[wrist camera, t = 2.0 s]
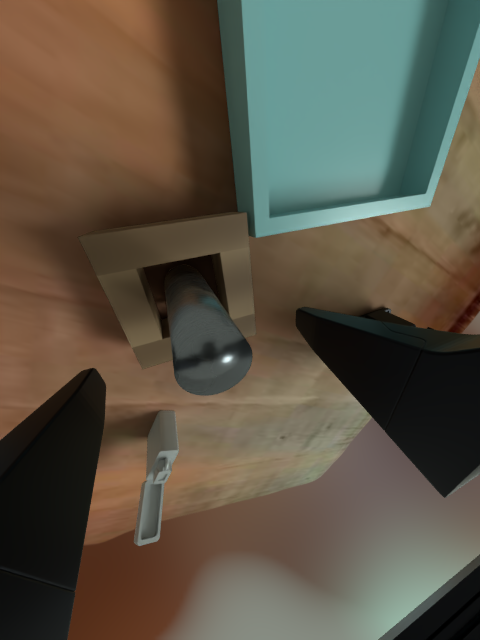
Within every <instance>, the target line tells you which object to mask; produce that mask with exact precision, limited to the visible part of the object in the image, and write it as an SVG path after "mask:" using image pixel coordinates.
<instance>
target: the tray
mask: <svg viewBox="0 0 480 640" xmlns="http://www.w3.org/2000/svg"><path fill="white" fill-rule="evenodd" d="M217 5H218V15H219V25H220V35H221V45H222V56H223V66H224V76H225V86H226V96H227V106H228V117H229V127H230V137H231V147H232V157H233V167H234V178H235V188H236V198H237V208H238V212H245V213H247V223H248V235H249V236H252V237H255V238H257V237H262V236H268V235H273V234H279V233H285V232H290V231H296V230H301V229H307V228H312V227H318V226H324V225H329V224H335V223H340V222H346V221H351V220H357V219H363V218H368V217H374V216H379V215H385V214H390V213H396V212H401V211H407V210H413V209H418V208H424V207H429V206H430V205H431V202H432V199H433V196H434V193H435V190H436V187H437V184H438V181H439V178H440V175H441V172H442V169H443V166H444V163H445V160H446V157H447V154H448V151H449V148H450V145H451V142H452V139H453V136H454V133H455V130H456V127H457V124H458V121H459V118H460V115H461V112H462V109H463V106H464V103H465V100H466V97H467V94H468V91H469V88H470V85H471V82H472V79H473V76H474V73H475V70H476V67H477V64H478V61H479V58H480V0H217Z"/></svg>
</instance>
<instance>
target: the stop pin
mask: <svg viewBox="0 0 480 640" xmlns="http://www.w3.org/2000/svg"><path fill="white" fill-rule="evenodd" d="M164 288H165V296H166V305H167V314H168V322H169V331H170V340H171V348H172V357H173V366H174V374H175V378H176V381H177V383H178V384H179V385H180V387H182V388H183V389H184V390H185V391H187V392H189V393H192V394H195V395H214V394H218V393H221V392H224V391H226V390H228V389H230V388H232V387H233V386H235V385H236V384H237V383H238V382H240V381H241V380H242V379H243V377H244V376H245V375H246V373H247V372H248V370H249V368H250V366H251V362H252V350H251V347H250V345H249V343H248V342H247V340H246V339H245V338H244V336H243V335H242V333H241V332H240V330H239V329H238V327H237V326H236V324H235V323H234V322H233V320H232V319H231V317H230V316H229V314H228V313H227V311H226V310H225V308H224V307H223V306H222V304H221V303H220V301H219V300H218V298H217V297H216V295H215V294H214V292H213V291H212V290H211V288H210V287H209V285H208V284H207V282H206V281H205V279H204V278H203V277H202V275H201V274H200V272H199V271H198V270H197V269H195V268H194V267H192V266H189V265H178V266H175V267H173V268H172V269H170V270H169V271H168V273H167V274H166V276H165V279H164Z"/></svg>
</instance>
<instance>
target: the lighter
mask: <svg viewBox="0 0 480 640" xmlns="http://www.w3.org/2000/svg"><path fill="white" fill-rule="evenodd" d="M178 452H179V447H178V437H177V427H176V416H175V411H163V410H161V411H159V412H158V414H157V416H156V419H155V421H154V423H153V425H152V428H151V430H150V432H149V435H148V440H147V469H146V480H147V481H144V482H143V483H142V487H141V494H140V501H139V508H138V515H137V523H136V530H135V537H134V542H135V544H137V545H139V546H141V545H144V544H148V543H152V542H156V541H158V539H159V537H160V527H161V516H162V504H163V492H164V483H165V482H166V481H167V479H168V477H169V475H170V473H171V471H172V466H171V465H172V463H173V462H174V460H175V458H176V456H177V454H178Z"/></svg>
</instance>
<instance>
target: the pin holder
mask: <svg viewBox="0 0 480 640" xmlns="http://www.w3.org/2000/svg"><path fill="white" fill-rule="evenodd" d="M78 239H79V241H80V243H81V245H82V247H83V249H84V251H85V253H86V255H87V257H88V259H89V261H90V263H91V265H92V267H93V269H94V271H95V273H96V275H97V277H98V279H99V282H100V284H101V286H102V288H103V290H104V292H105V294H106V296H107V298H108V300H109V302H110V304H111V306H112V308H113V310H114V312H115V314H116V316H117V318H118V320H119V322H120V324H121V326H122V328H123V331H124V333H125V335H126V337H127V339H128V341H129V343H130V345H131V347H132V349H133V351H134V353H135V355H136V357H137V359H138V361H139V363H140V365H141V367H142V369H145V368H149V367H152V366H155V365H158V364H161V363H165V362H168V361H171V360H173V357H172V348H171V340H170V331H169V322H168V318H166V319H162V320H161V317H160V314H159V311H158V309H157V306H156V303H155V300H154V297H153V295H152V292H151V289H150V286H149V284H148V281H147V278H146V275H145V272H144V270H143V267H147V266H153V265H158V264H163V263H168V262H174V261H179V260H184V259H189V258H195V257H200V256H205V255H210V254H211V256H212V262H213V268H214V273H215V279H216V285H217V290H218V296H219V301H220V303H221V304H222V306H223V307H224V308H225V310H226V311H227V313H228V314H229V316H230V317H231V319H232V320H233V322H234V323H235V324H236V326H237V327H238V329H239V330H240V332H241V333H242V335H243V336H244V338H246V337H249V336H252V335H256V325H255V312H254V299H253V286H252V274H251V261H250V248H249V235H248V223H247V213H245V212H226V213H219V214H212V215H205V216H198V217H191V218H184V219H177V220H170V221H163V222H155V223H148V224H141V225H134V226H127V227H120V228H113V229H106V230H99V231H93V232H90V233H87V234H85V235H82V236H79V237H78Z"/></svg>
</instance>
